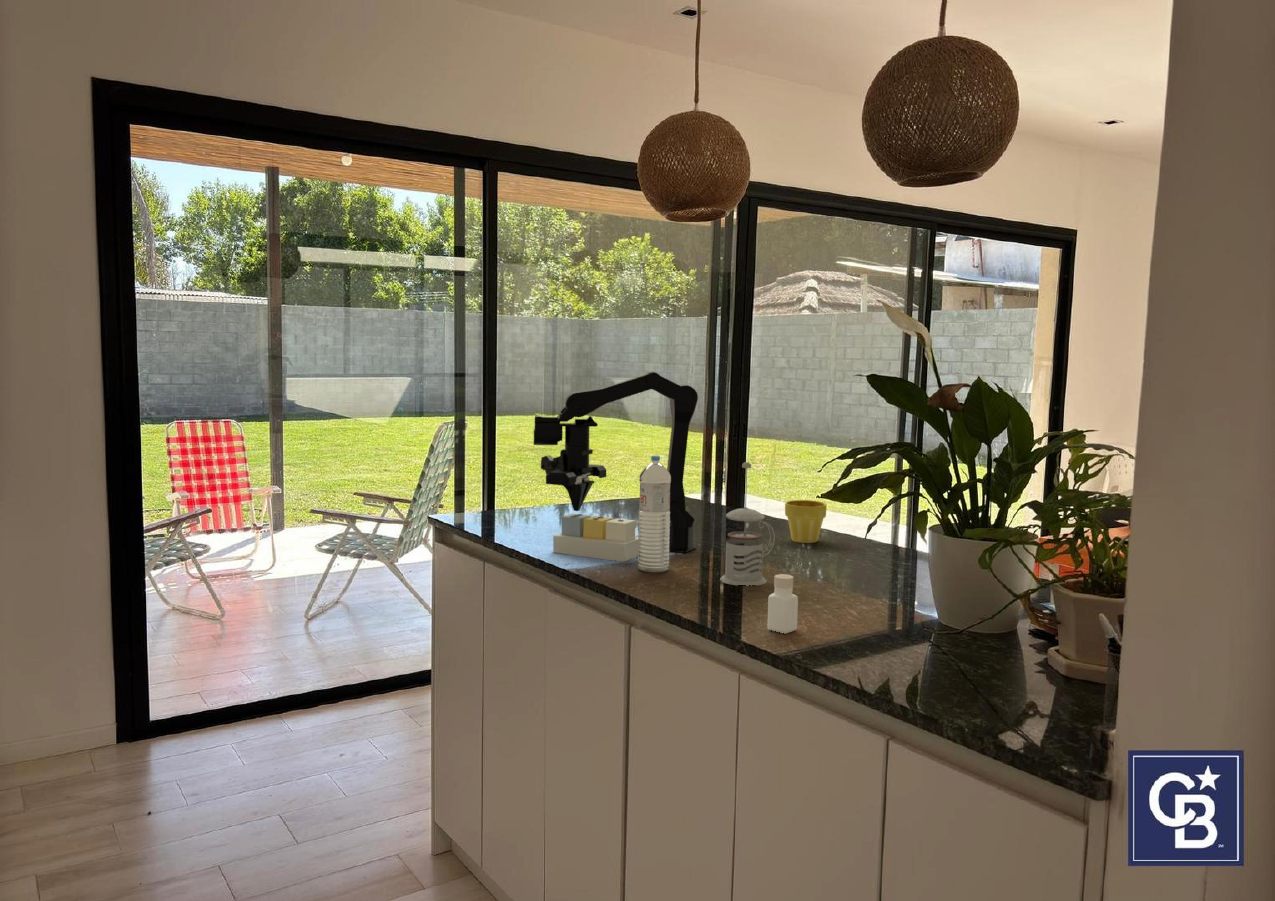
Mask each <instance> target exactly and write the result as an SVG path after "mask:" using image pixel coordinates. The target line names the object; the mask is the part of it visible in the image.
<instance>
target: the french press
mask: <svg viewBox="0 0 1275 901" xmlns="http://www.w3.org/2000/svg"><path fill="white" fill-rule="evenodd" d="M741 467H742V468H743V469H746V470H745V499H744V501H745V502H744V507H743V508H736V509H734V510H731V511H729V512H727V513H726V514H725V517H726V518H727V519H728V520H732V521H738V522H744V526H747V525H746V524H747V522H758V527H759V529H763V528H764V525H765V526H766V527H767V528H768V533H769V541H768V544H767V547H766V548H765V549H764V542H763V541H761V542H760V539H761V538H762V534H761V533H759V532H754V531H748V530H747V531H746V528H744V530H739V531H731V532H729V533H727V537H728V538H730V539H726V540H725V564H724V565H725V566H724V567H725V569H724V574H723V575H722V576H721V577H720V579H719V581H721V580H722V581H721V582H722V583H724V584H727V585H733V586H738V585H746V586H745V587H753V586H752V585H756V586H761V585H765V584H766V583H767V579H766V578H765V577H764V576H763V562H764V561H763V559H764V557H765V556H767V555H769V554H770V553H771V552H772V550H773V548H774V544H775V540H776V535H775V531H774V528H773V527H772V526H771V524H770V523H768V522H767V521H763V520H764V519H765V517H766V516H765V515H764V514H762V513H761V512H759V511H757V510H755V509H752V508H748V507H747V491H748V490H747V486H748V484H747V482H748V469H751V468H752V464H751V463H750V462H747V461H745V462H743V463H742V465H741ZM761 523H762V526H761ZM771 531H772V533H771ZM772 535H773V537H772ZM772 539H773V540H772ZM771 541H772V545H771V548H770V547H769V546H770V544H771ZM739 544H744V545H739ZM769 548H770V550H769V551H768V549H769ZM766 551H768V552H766ZM764 553H765V554H764ZM741 556H743V557H744V558H743V557H741ZM736 557H737V558H736ZM759 569H760V570H759ZM749 585H751V586H749Z"/></svg>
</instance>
